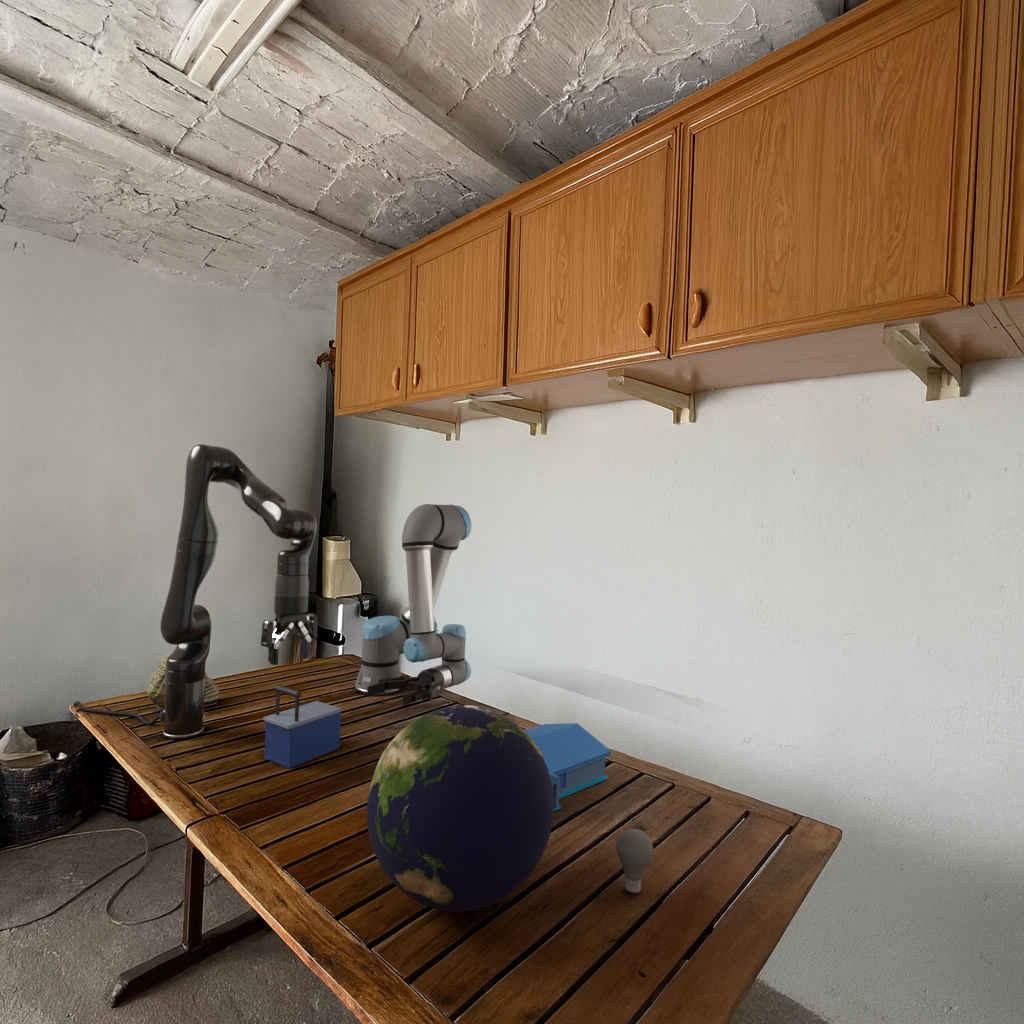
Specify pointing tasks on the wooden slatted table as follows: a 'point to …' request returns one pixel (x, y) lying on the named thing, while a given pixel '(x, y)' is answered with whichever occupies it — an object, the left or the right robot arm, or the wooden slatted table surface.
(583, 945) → the wooden slatted table surface
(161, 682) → the fossil
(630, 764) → the wooden slatted table surface
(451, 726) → the globe
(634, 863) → the light bulb
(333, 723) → the chest
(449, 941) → the wooden slatted table surface
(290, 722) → the grey lid
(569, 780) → the model building
